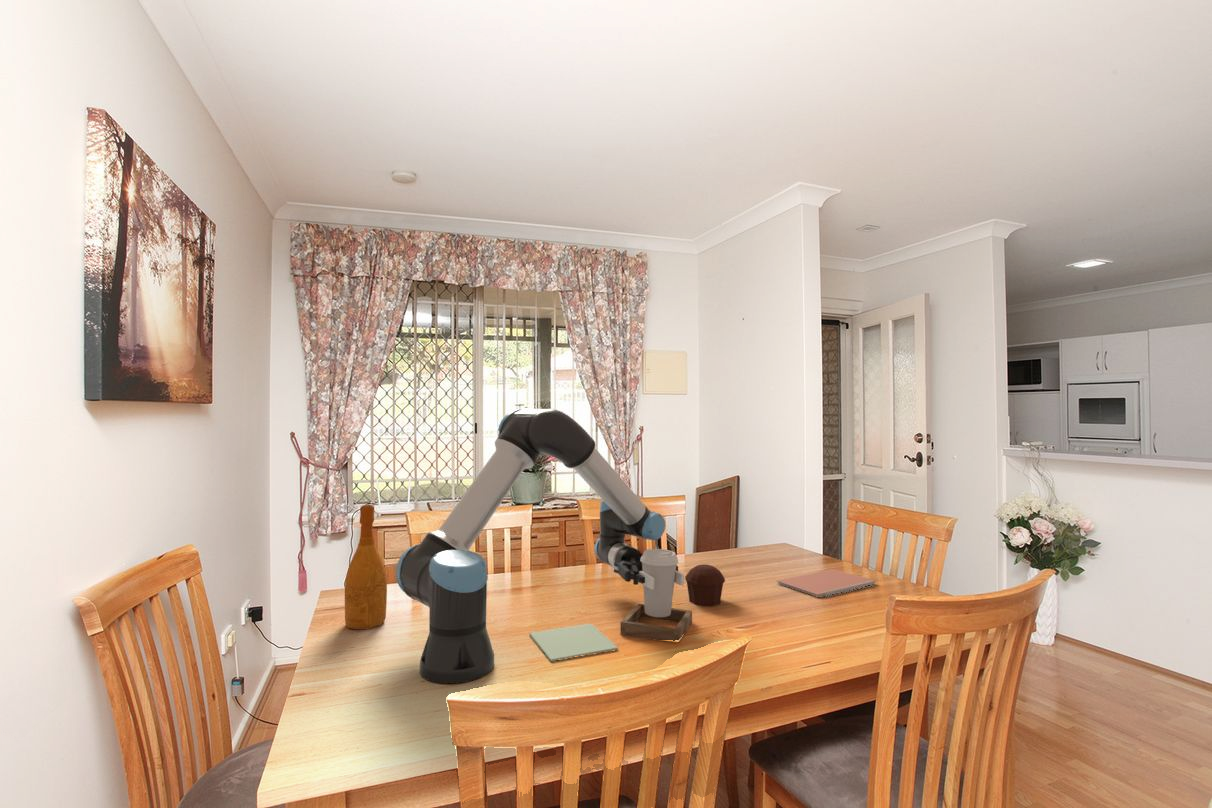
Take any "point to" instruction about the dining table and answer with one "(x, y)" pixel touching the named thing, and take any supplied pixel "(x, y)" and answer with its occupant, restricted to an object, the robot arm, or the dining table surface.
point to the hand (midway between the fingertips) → (667, 581)
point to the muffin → (705, 585)
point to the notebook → (826, 582)
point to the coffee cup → (659, 581)
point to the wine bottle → (366, 580)
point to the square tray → (654, 631)
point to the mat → (572, 641)
